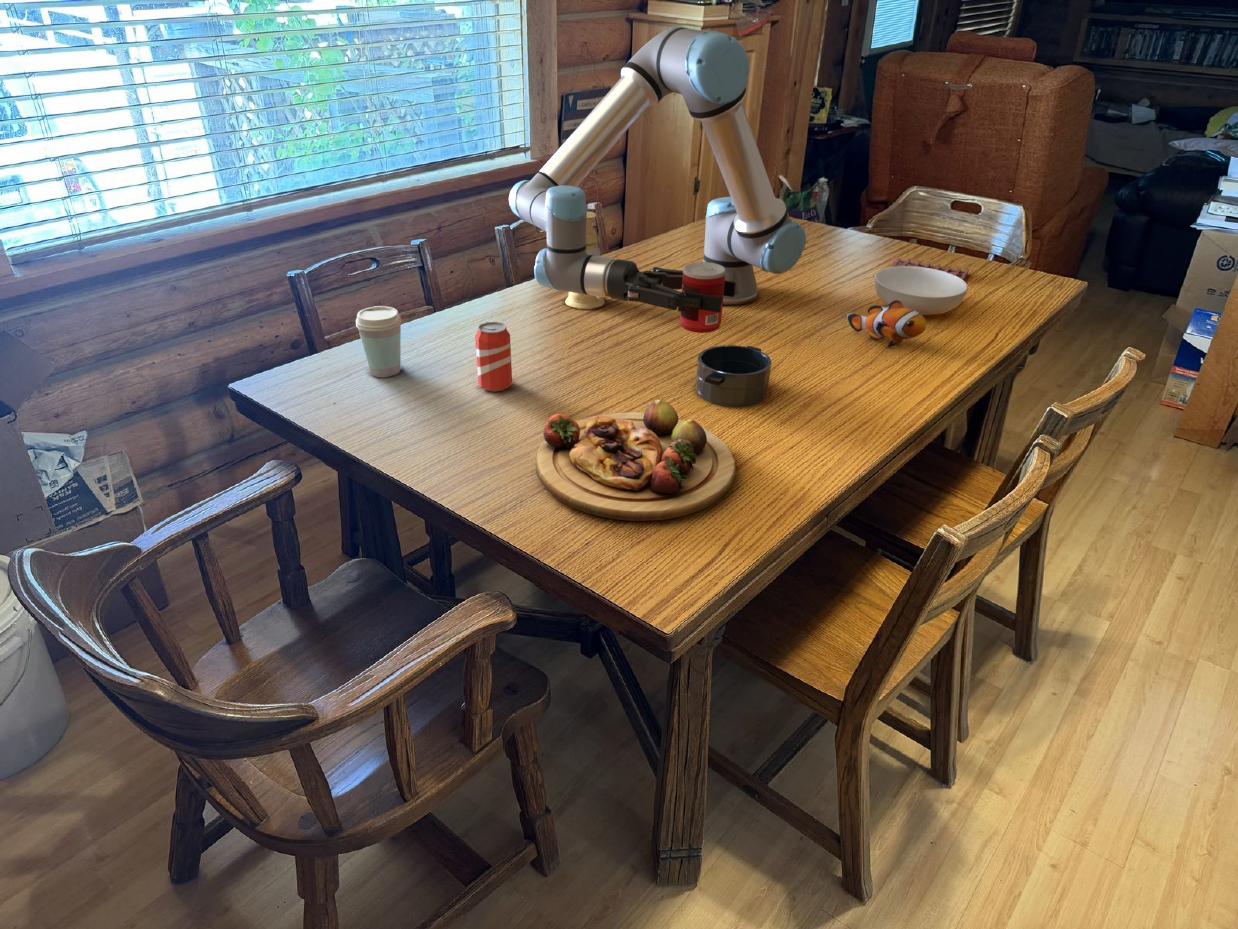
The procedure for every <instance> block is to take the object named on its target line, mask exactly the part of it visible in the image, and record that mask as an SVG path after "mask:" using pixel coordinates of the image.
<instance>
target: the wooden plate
mask: <svg viewBox="0 0 1238 929" xmlns="http://www.w3.org/2000/svg"><path fill="white" fill-rule="evenodd" d="M543 429H544V430H543V439H544V440H543V442H542V443H541V445H540V446H539V448H538V450H537V452H536V456H535V471H536V475H537V478H538V480H539V481H540V484H542V486H543V487H544V488H545V489H546V490H547V491H548V492H549V493H550V494H551V495H552V496H553V497H554V498H555V499H557V500H558V501H560V502H561V503H562V504H565V505H567V506H569V507H571V508H572V509H575V510H577V511H580V512H584V513H586V514H590V515H593V516H597V517H602V518H607V519H612V520H619V521H633V522H634V521H636V522H646V521H648V522H649V521H663V520H668V519H674V518H679V517H683V516H687V515H690V514H693V513H696V512H699V511H702V510H704V509H705V508H708V507H710V506H711V505H713V504H714V503H716V502H717V501H718V500H720V499H721V498H722V497H723V496H724V495H725V494H726V493H727V492H728V491H729V490H730V488H731V486H732V485H733V483H734V480H735V478H736V472H737V465H736V460H735V458H734V455H733V452H732V451H731V449H730V448H729V446H727V444H726V443H725V442H724V441H723V440H722V439H721V438H719V437H718V436H716V434H714V433H712V432H710V431H709V430H707V429H705V428H704V427H702V425H700V424H699V423H698V422H697V421H696V420H693V419H691V418H688V419H686V420H683V419H680V418H679V415H678V413H677V410H676V409H675V407H673V405H671V404H670V403H669V402H667V401H665V400H663V399H655V400H653V401H652V402H651V403H650V404H649V405H648V406H647V407H646V409H645V411H644V412H612V413H603V414H598V415H592V416H587V417H584V418H580V419H578V420H574V419H573V418H571V417H570V416H569V415H567V414H561V413H556V414H554V415H552V416H550V417H549V418H548V420H547V423H546V424H545V425H544V428H543Z"/></svg>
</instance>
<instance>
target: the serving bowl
mask: <svg viewBox="0 0 1238 929" xmlns="http://www.w3.org/2000/svg"><path fill="white" fill-rule="evenodd" d="M873 279H874V282H873V284H874V290H875V293H876V295H877V297H878V298H879V299H880V300H881V301H882V302H883V303H884V304H885V305H886V306H887V305H889V304H890V303H891V302H893V301H894V300H898V301H900V302H901V303H902V305H903V306H904V307H905V308H910V309H913V310H915V311H917V312H918V313H920V314H921V315H924V316H935V315H936V316H937V315H941V314H945V313H947V312H950V311H952V310H954V309H955V308H956V307H958V306H959V305H960V304H961V303H962V302H963V300H964V298H965V296H966V294H967V292H968V289H969V287H968V283H966V281H965V280H964V281H963V280H962V279H961V278H959V277H957V276H955V275H953V274H950V273H947V272H944V271H940V270H936V269H931V268H924V267H914V266H898V267H891V266H890V267H885V268H882V269H880V270H878V271H877V272H876V273H875V274H874V278H873Z"/></svg>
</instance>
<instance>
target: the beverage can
mask: <svg viewBox="0 0 1238 929" xmlns="http://www.w3.org/2000/svg"><path fill="white" fill-rule="evenodd" d="M474 341H475V356H476V370H477V384H478V386H479V387H480V388H481V389H484V390H485V391H489V392H492V393H493V392H502V391H504V390H506V389H507V388H509V387H511V385H512V384H513V370H512V368H513V367H512V366H513V365H512V348H511V347H512V346H511V334H510V332H509V331H508V330H507V325H506V324H504V322H499V321H487V322H483V323H480V324H479V325H478V326H477V331H476V333H475V335H474Z"/></svg>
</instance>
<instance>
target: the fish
mask: <svg viewBox="0 0 1238 929" xmlns="http://www.w3.org/2000/svg"><path fill="white" fill-rule="evenodd" d="M867 314H868V316H865V315H860V314H858V313H855V312H849V313H847V316H846V319H847V322H848V325H849V326H850V328H851V329H852V330H853V331H854V332H856V333H859V332H861V331H864V330H865V331H868V333H869V337H870V339H871V340H872V341H879V340H880V341H881V340H884V339H889V340H890V341H889V343H888V346H887V347H888V348H889V349H890V348H892V347H895V346H897V345H898V344H900V343H902V342H903V341H904V340H905V341H907V340H910V339H914V338H916V337H918V336H920V335H921V334H923V333H924V332H925V331H926V329H927V321H926V315H921V314H920V313H918V312H917V311H915V310H913V309H910V308H905V307H904V306H903V305H902V303H901V302H900V301H898V300H894V301H893V302H891V303H890V304H889V305H886V306H885V305H878V304H876V305H871V306H869V307H868V309H867Z"/></svg>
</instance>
